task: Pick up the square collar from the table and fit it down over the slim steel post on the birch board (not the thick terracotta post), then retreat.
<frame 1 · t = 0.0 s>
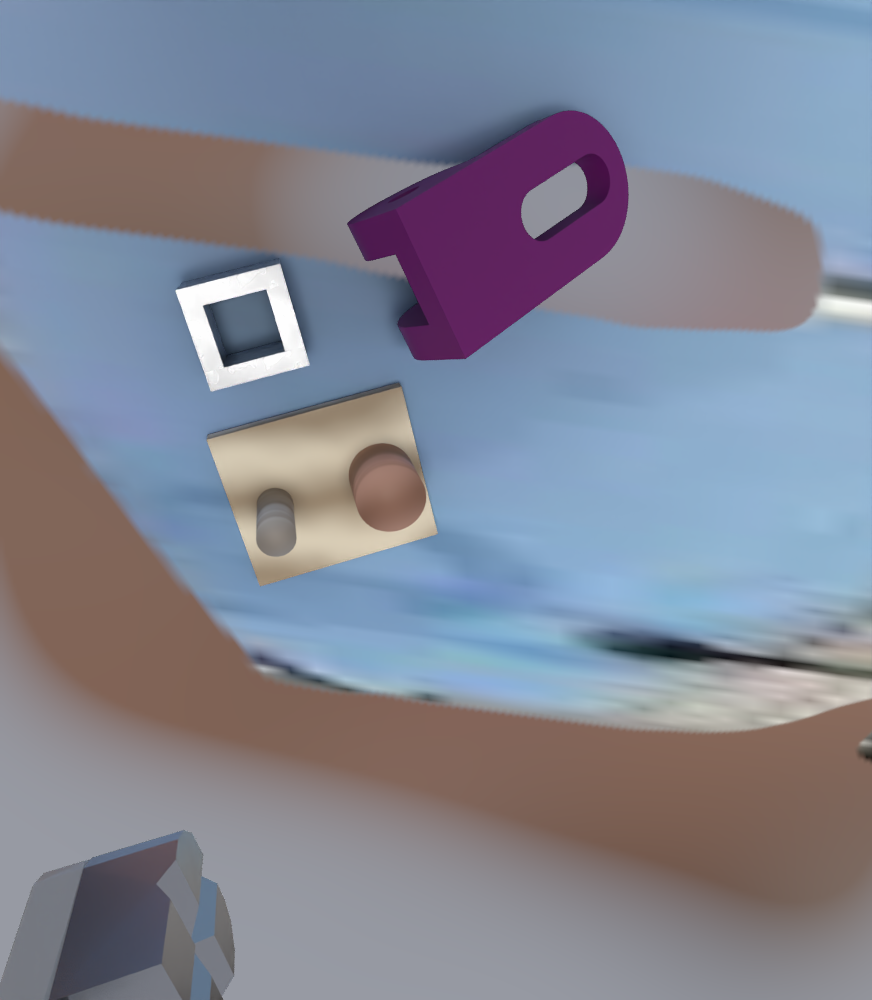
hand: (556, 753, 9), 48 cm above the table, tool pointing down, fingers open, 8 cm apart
collar: (246, 319, 52), on the table
mounting bracket: (492, 223, 54), on the table
post board: (327, 483, 58), on the table
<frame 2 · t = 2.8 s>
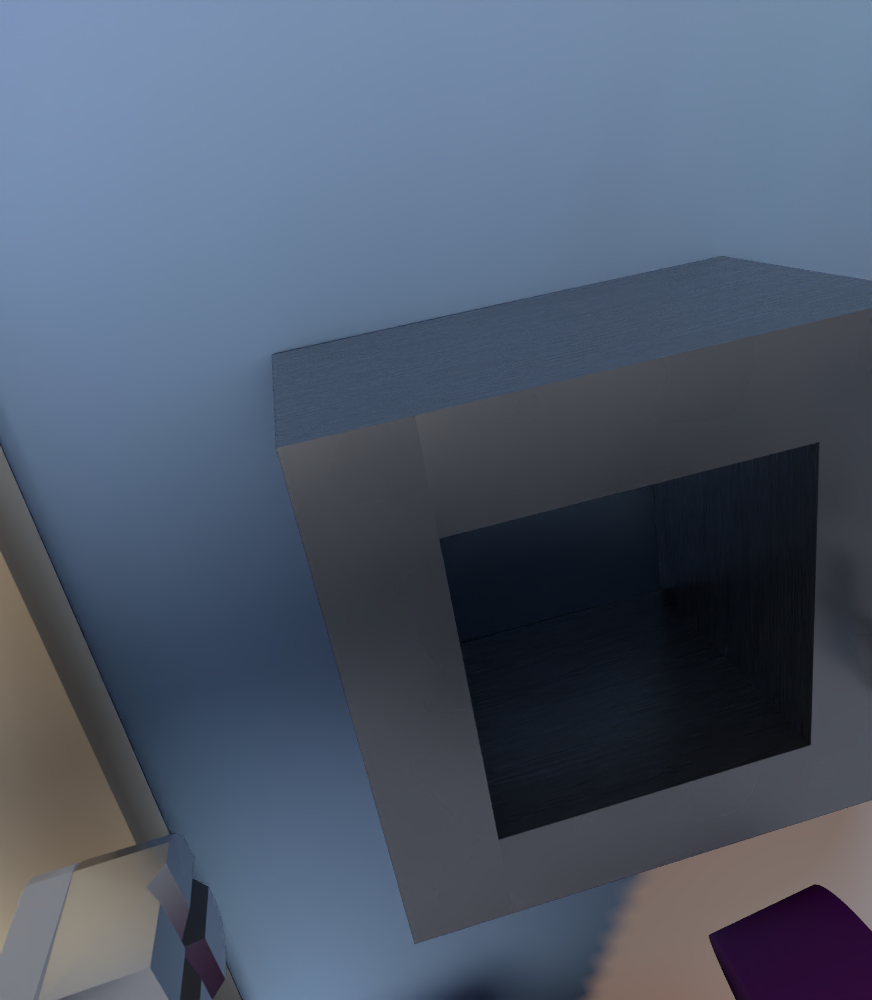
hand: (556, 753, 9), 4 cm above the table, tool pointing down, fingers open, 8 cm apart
collar: (532, 512, 12), on the table, touching gripper
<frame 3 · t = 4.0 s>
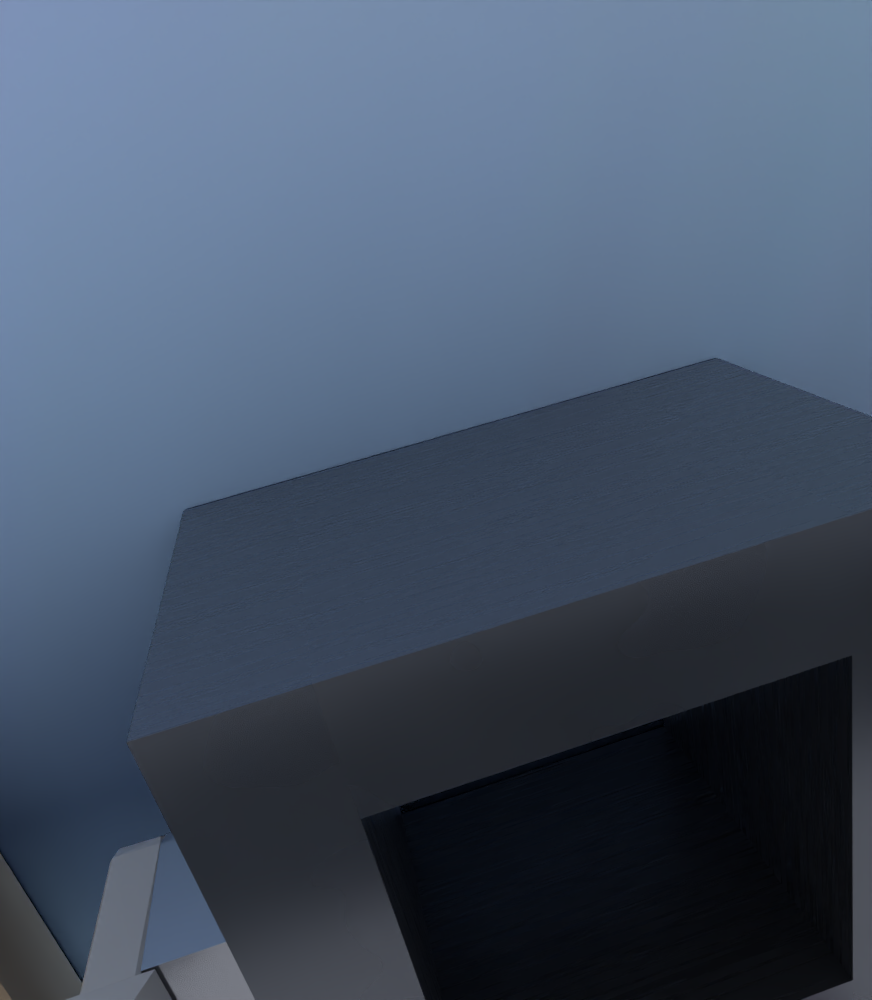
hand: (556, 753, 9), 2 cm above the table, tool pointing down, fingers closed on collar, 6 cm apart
collar: (510, 657, 10), on the table, touching gripper
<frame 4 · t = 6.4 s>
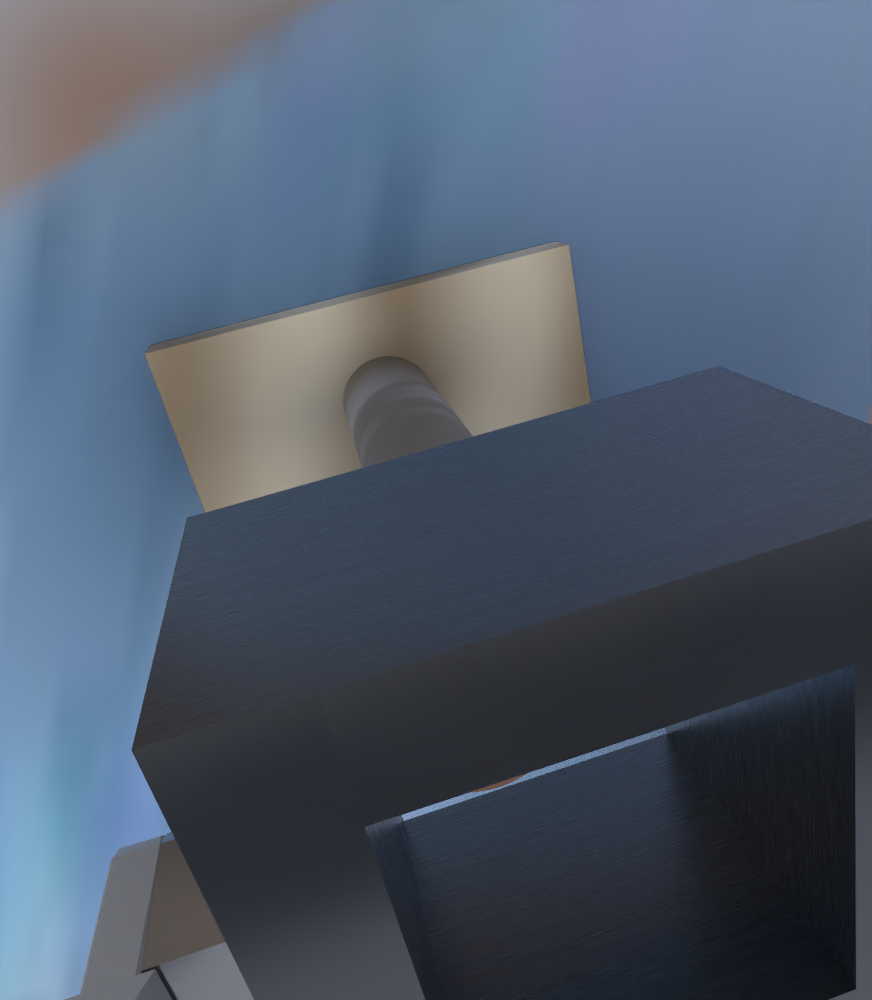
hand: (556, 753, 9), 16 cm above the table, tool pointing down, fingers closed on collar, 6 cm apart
collar: (512, 664, 10), point 15 cm above the table, touching gripper
post board: (412, 506, 25), on the table
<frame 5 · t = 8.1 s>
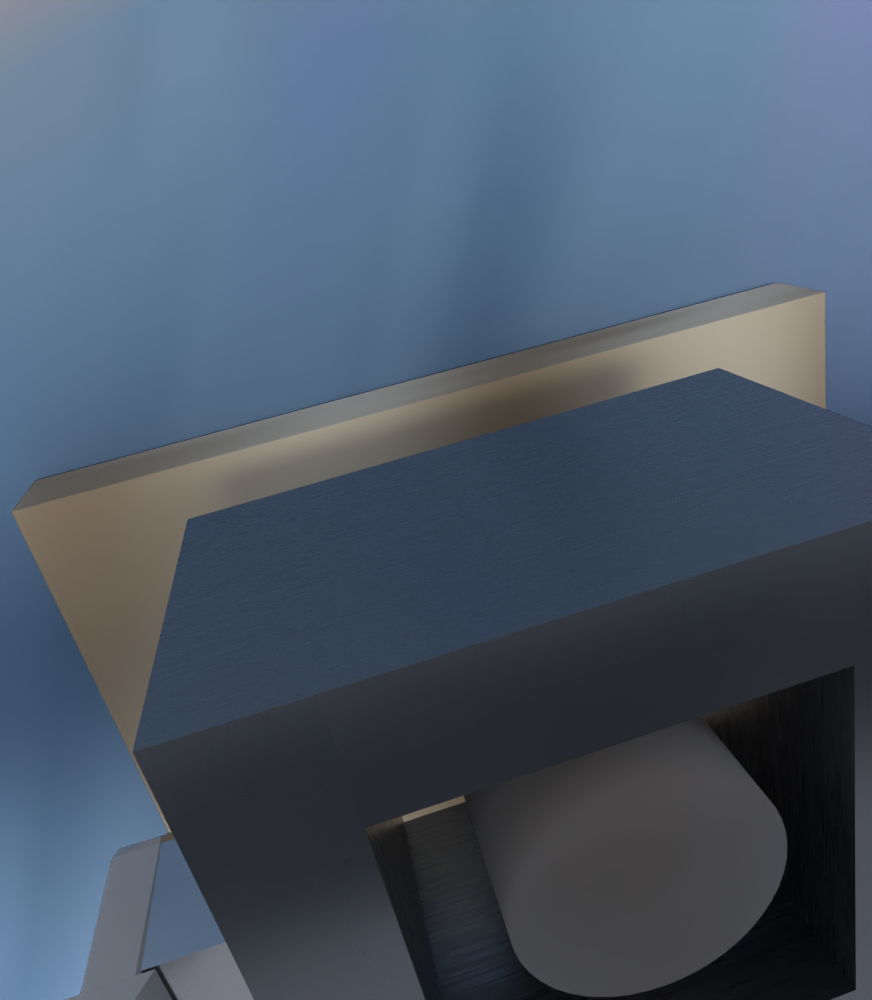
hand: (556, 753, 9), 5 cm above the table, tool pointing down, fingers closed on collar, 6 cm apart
collar: (512, 665, 10), point 3 cm above the table, touching gripper
post board: (503, 723, 15), on the table
when the fingers open (4 cm above the table, at t = 9.3 s): collar drops 1 cm, resting on post board.
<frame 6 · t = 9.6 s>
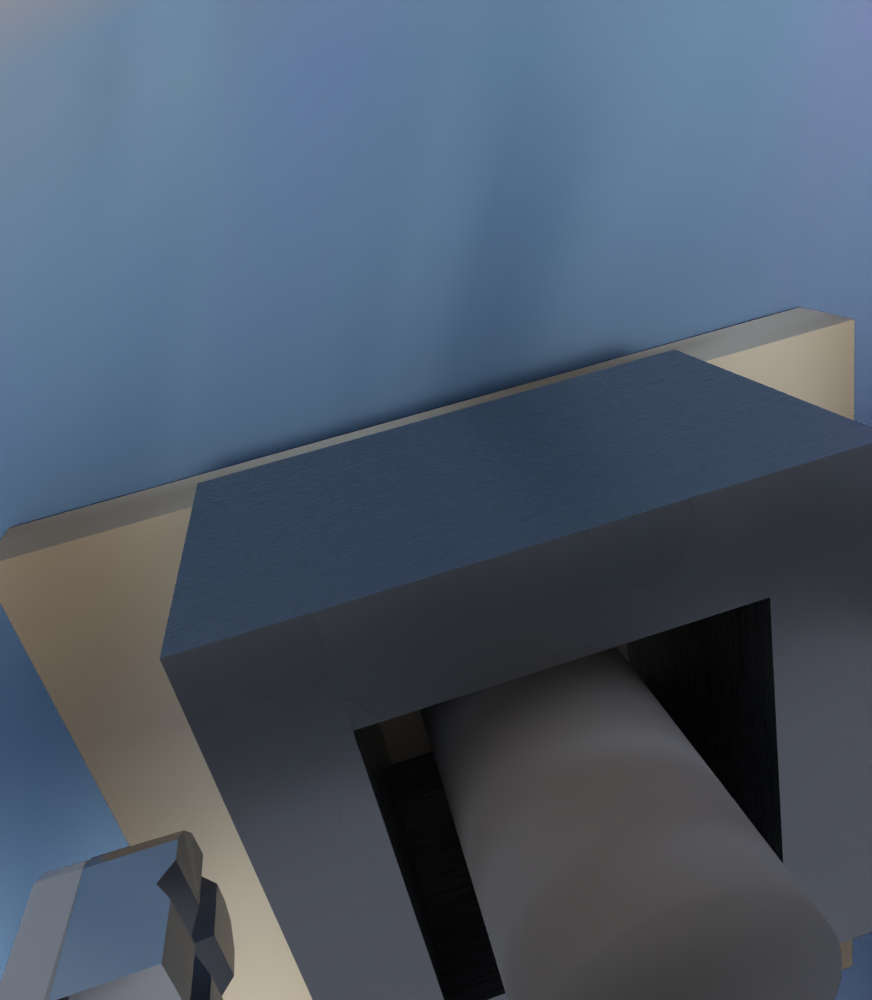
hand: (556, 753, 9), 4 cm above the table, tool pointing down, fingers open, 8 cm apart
collar: (490, 620, 11), point 1 cm above the table, touching post board
post board: (510, 770, 14), on the table
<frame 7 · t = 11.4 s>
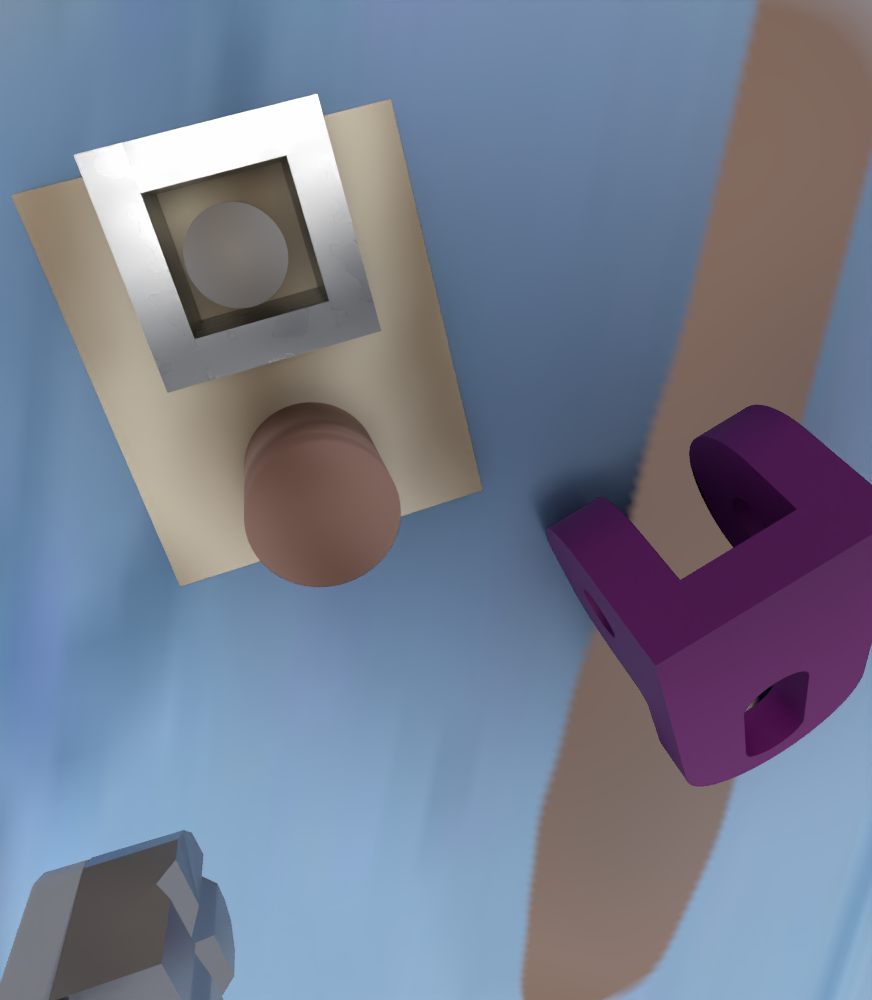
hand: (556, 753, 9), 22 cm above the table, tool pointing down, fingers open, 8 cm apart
collar: (240, 242, 25), point 1 cm above the table, touching post board
mounting bracket: (691, 601, 37), on the table
post board: (276, 355, 28), on the table
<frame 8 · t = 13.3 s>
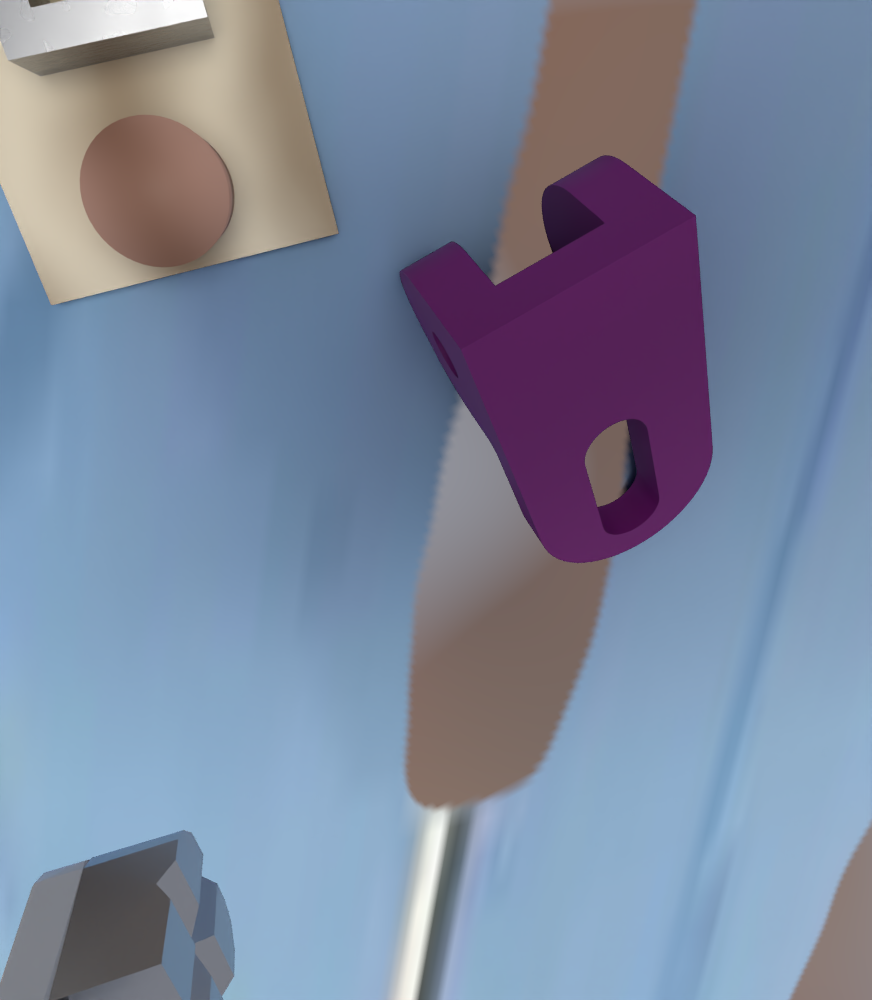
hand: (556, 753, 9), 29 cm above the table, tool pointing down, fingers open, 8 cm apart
mounting bracket: (557, 385, 39), on the table
post board: (139, 84, 30), on the table
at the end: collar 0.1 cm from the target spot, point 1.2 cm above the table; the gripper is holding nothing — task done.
